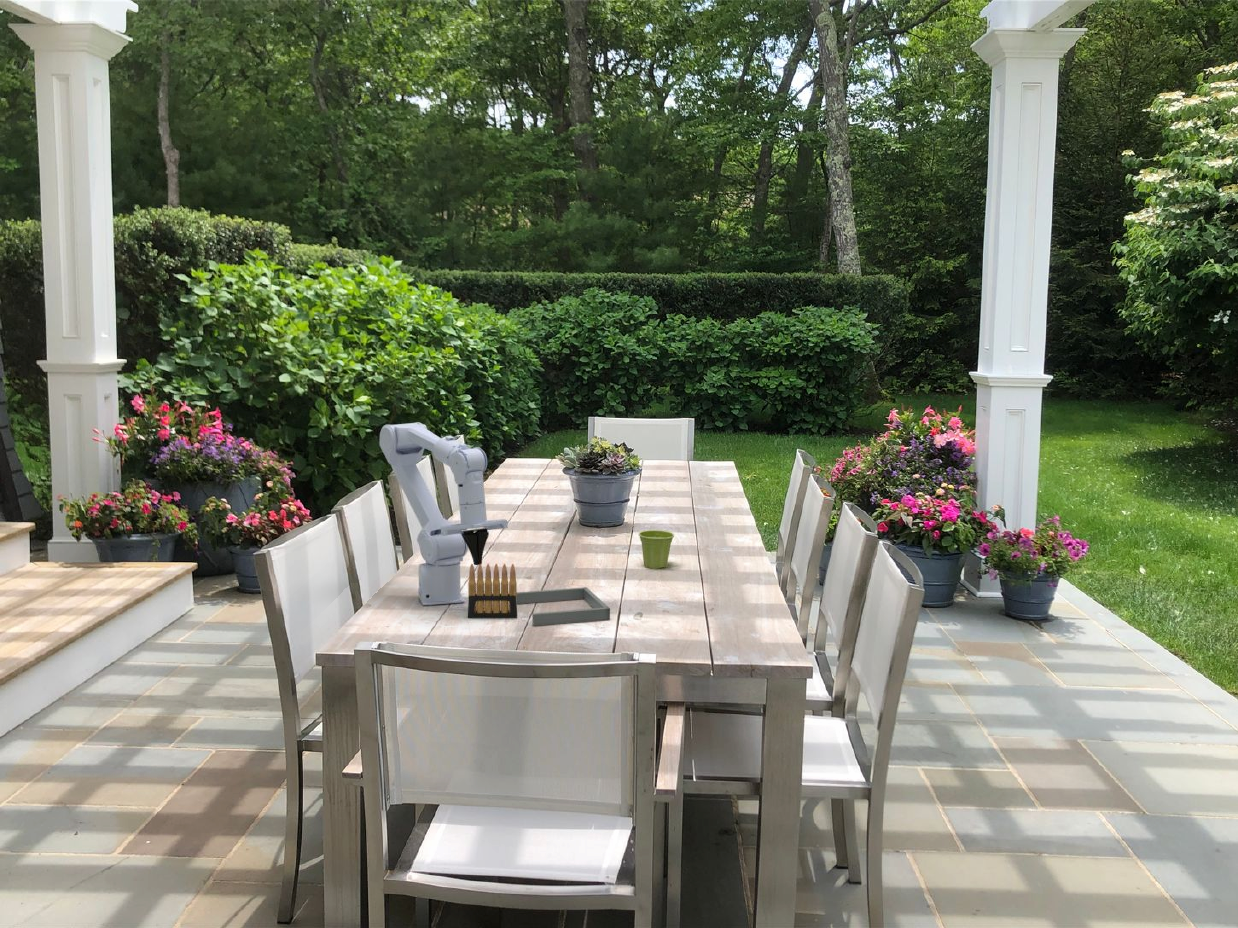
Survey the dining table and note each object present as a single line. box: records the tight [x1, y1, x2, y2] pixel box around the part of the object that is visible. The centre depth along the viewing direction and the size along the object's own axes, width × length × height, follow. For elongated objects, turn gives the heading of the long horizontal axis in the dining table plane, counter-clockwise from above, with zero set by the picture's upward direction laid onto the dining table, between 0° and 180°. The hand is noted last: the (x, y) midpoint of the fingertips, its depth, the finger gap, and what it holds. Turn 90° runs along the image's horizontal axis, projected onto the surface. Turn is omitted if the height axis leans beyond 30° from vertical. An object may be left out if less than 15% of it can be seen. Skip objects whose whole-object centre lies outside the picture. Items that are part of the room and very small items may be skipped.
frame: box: [517, 586, 611, 627], centre depth 231 cm, size 17×18×2 cm
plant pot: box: [638, 529, 675, 570], centre depth 272 cm, size 9×9×9 cm
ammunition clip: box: [467, 563, 518, 619], centre depth 225 cm, size 11×2×12 cm, turn 93°
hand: (477, 564), depth 228 cm, fingers closed
